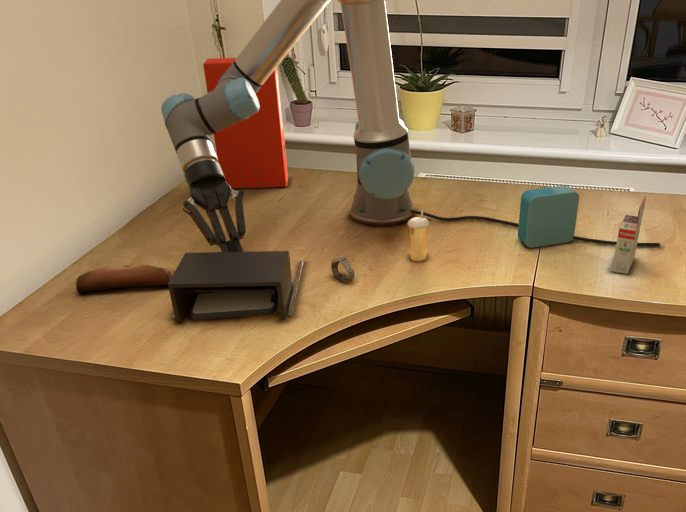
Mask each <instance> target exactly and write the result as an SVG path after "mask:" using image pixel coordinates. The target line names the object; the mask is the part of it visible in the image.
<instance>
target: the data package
mask: <svg viewBox="0 0 686 512" xmlns="http://www.w3.org/2000/svg"><path fill="white" fill-rule="evenodd" d="M579 202H580V194H579V193H578V192H577V191H576V190H574V189H573V188H571V187H569V186H568V185H557V186H550V187H542V188H541V187H540V188H534V189H533V188H532V189H527V190H524V192H522V194H521V196H520V204H519V205H520V206H519V215H518V224H519V227H517V238H518V240H519V241H521V242H522V244H524V245H525V246H526V247H527V248H529V249H534V248H540V247H547V246H554V245H555V246H556V245H561V244H568V243H570V242H571V241H573V240H574V239H573V238H574V236H575V233H576V224H577V218H578V210H579Z"/></svg>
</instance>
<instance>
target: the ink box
mask: <svg viewBox="0 0 686 512" xmlns="http://www.w3.org/2000/svg"><path fill="white" fill-rule="evenodd" d="M646 200H647V195H646V194H645V195H644V197H643V199H642V201H641V203H640V206H639V208H638V213H637V215H631V214H625V216H624V218H623V219H622V221H621V224H620V226H619V228H618V233H617V240H616V242H617V244H616V245H615V249H614V256H613V261H612V266H611V270H610V271H611V272H613V273H616V274H617V273H618V274H624V275H628V274H629V271H630V269H631V267H632V264H633V262H634V259H635V256H636V252H637V247H638V246H637V243H639V236H640V231H641V226H642V221H643V216H644V211H645V206H646Z"/></svg>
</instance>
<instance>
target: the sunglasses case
mask: <svg viewBox="0 0 686 512" xmlns="http://www.w3.org/2000/svg"><path fill="white" fill-rule="evenodd" d="M174 272H175V270H173V269H169V268H166V267H158V266H155V265H149V264H131V265H129V264H124V265H115V266H106V267H105V266H104V267H101V268H96V269H93V270H90V271H88V272H85V273H82V274H80V275H79V276H78V277H77V278H76V281H75V287H76V291H77V293H78V294H80V293H81V294H82V293H86V292H87V293H88V292H93V291H100V290H108V289H119V288H120V289H121V288H133V287H149V286H168V283H169V281H170V279H171V277H172V276H173V274H174Z"/></svg>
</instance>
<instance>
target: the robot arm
mask: <svg viewBox="0 0 686 512" xmlns="http://www.w3.org/2000/svg"><path fill="white" fill-rule="evenodd" d="M331 1H332V0H280V1H279V2H278V4H277V5H276V6H275V7H274V8H273V9H272V11H271V13H270V14H269V15H268V17H266V19H265V20H264V21H263V23H262V24H261V26H260V27H259V28H258V30H257V31H256V32H255V33H254V34H253V36H252V37H251V38H250V40H249V41H248V43H246V45H245V46H244V48H243V49H242V50H241V51H240V53H239V54H237V55H238V56H236V57H235V58H236V59H235V61H234V62H233V64H232V65H231V66H230V67H229V69H228V70H227V71H226V72H224V74H223V75H222V76H221V78H220V79H219V81H218V84H217V86H216V88H215V90H213V91H211V92H209V93H205V94H204V95H201V96H200V97H197V98H195V97H194V96H193V95H192V94H190V93H186V92H181V93H179V94H172V95H170V96H169V97H167V98H165V100H164V101H163V102H162V104H161V108H160V109H161V110H160V111H161V114H162V118H163V121H164V126H165V129H166V130H167V133H168V135H169V138H170V141H171V142H172V146H173V148H174V150H175V154H176V156H177V159H178V162H179V165H180V167H181V170H182V172H183V175H184V178H185V182H186V184H187V186H188V187H187V188H188V190H189V192H190V193H189V198H188V199H187V200H184V201H183V202H182V208H181V209H182V211H183V212H184V213H185V214H187V215H188V216H190V217H191V219H192V221H193V222H194V224H195V226H196V227H197V228H198V230H199V231H200V233H201V234H202V235H203V237H204V238H205V240H206V242H207V243H208V244H209V246H214V245H215V246H217V247H218V248H220V251H221V252H244V249H243V246H242V244H241V241H240V240H243V239H244V238H245V235H246V232H247V231H246V222H245V212H244V205H243V199H244V196H245V191H244V190H242V189H240V190H235V189H234V188H233V189H231V186H230V185H229V184H228V183H227V182H226V179H225V177H224V174H223V171H222V169H221V166H220V164H219V163H218V158H217V152H216V149H215V148H214V145H213V143H212V139H211V136H214V134H215V133H217V132H219V131H221V130H223V129H225V128H227V127H229V126H232V125H234V124H236V123H238V122H240V121H242V120H244V119H245V120H246V119H248V118H249V117H250V116H252V115H253V114H255V113H257V112H258V111H259V109H260V105H259V101H258V98H257V96H256V93H257V92H258V90H259V89H260V88H261V86H262V85H263V84H264V83H265V81H266V80H267V79H268V78H269V76H270V75H271V74H272V73H273V71H274V70H275V69H276V68H277V69H278V66H280V64H281V63H282V62H283V60H284V59H285V58H286V57H287V56H288V54H289V53H290V52H291V50H292V49H293V48H294V47H295V45H297V43H298V42H299V40H300V39H301V38H302V37H303V35H304V34H305V33H306V32H307V30H308V29H309V28H310V27H311V26H312V24H313V23H314V22H315V21H316V19H317V18H319V16H320V14H321V13H322V12H323V11H324V9H325V8H326V7H327V6H328V4H329V3H330V2H331ZM337 2H338V3H339V4H340V8H341V9H340V10H341V16H342V21H343V22H342V23H343V28H344V29H343V30H344V35H345V36H344V37H345V42H346V48H347V55H348V62H349V69H350V74H351V81H352V87H353V88H352V89H353V94H354V95H353V96H354V101H355V108H356V114H357V120H358V121H357V122H356V123H355V125H354V133H353V141H354V142H353V143H354V148H355V156H356V157H355V158H356V177H357V178H356V179H357V180H356V181H357V184H356V185H357V186H356V188H355V193H354V195H353V199H352V203H351V209H350V211H351V218H352V219H353V220H355V221H356V222H358V223H360V224H364V225H368V226H378V227H381V226H385V227H386V226H393V225H399V224H402V223H405V222H408V221H409V220H410V219H412V218H413V216H414V214H416V215H420V216H421V211H419V210H416V209H414V205H413V201H412V199H411V198H412V197H411V195H410V192H409V189H410V187H412V185H413V182H414V181H413V180H414V178H415V165H414V163H413V160H412V156H411V155H412V154H411V147H410V139H409V130H408V127H407V126H406V123H405V122H404V120H402V119H400V116H399V114H400V113H399V105H398V98H397V89H396V81H395V73H394V64H393V57H392V56H393V55H392V48H391V41H390V40H391V39H390V31H389V23H388V15H387V14H388V13H387V6H386V0H337ZM230 197H231V200H232V201H233V203H234V212H235V221H236V222H235V223H236V226H235V223H234V220H233V218H232V215H231V213H230V210H229V205H228V203H229V200H230ZM197 206H198V207H199V208H201V209H202V210H204V211H205V213H206V216H207V218H208V220H209V223H210V225H211V227H210V226H209V224H208V222H207V221H206V220H205V218H204V217H203V214H201V212H200V211H199V209H198V208H197ZM217 211H218V213H219V215H220V217H221V220H222V222H223V225H224V227H225V230H226V233H227V236H228V238H229V240H227V238H226V235H225V232H224V230H223V227H222V223H221V221H220V218H219V216H218V213H217ZM423 217H429V218H432V219H434V220H438V221H443V222H453V221H454V222H455V221H462V220H463V221H464V220H483V221H489V222H493V223H498V224H503V225H508V226H511V227H512V226H513V227H517V228H518V227H519V222H518V223H517V222H513V221H508V220H503V219H497V218H494V217H489V216H480V215H463V216H453V217H443V216H438V215H435V214H433V213H429V212H425V211H423ZM572 240H575V241H579V242H580V241H581V242H587V243H593V244H601V245H602V244H603V245H613V246H616V244H617V240H616V241H615V240H604V239H596V238H588V237H581V236H576V235H574V238H573V239H572ZM637 247H661V243H660V242H637Z"/></svg>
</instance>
